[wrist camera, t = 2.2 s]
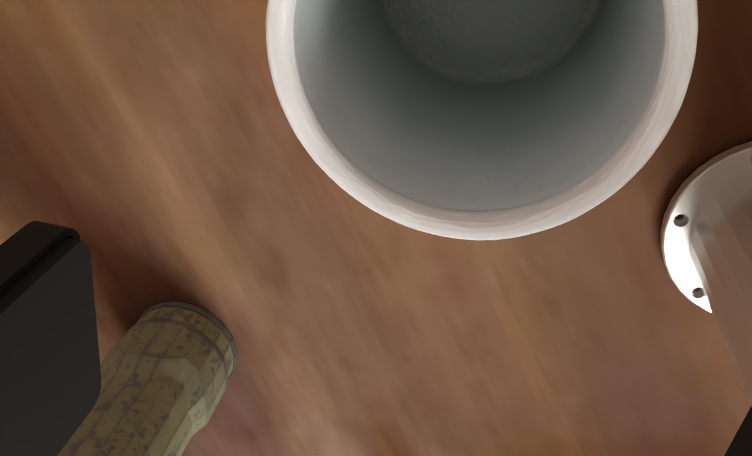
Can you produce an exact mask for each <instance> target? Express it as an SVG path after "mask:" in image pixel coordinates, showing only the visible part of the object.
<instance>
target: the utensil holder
mask: <svg viewBox="0 0 752 456" xmlns="http://www.w3.org/2000/svg"><path fill="white" fill-rule="evenodd" d="M697 35H698V8H697V0H268V4H267V14H266V45H267V54H268V61H269V67H270V72H271V76H272V80H273V83H274V87H275V90H276V93H277V96H278V99H279V101H280V104H281V107H282V108H283V110H284V113H285V115H286V117H287V119H288V121H289V123H290V125H291V127H292V129H293V131H294V132H295V134H296V135H297V137H298V139H299V140H300V142H301V143H302V145H303V146H304V148H305V149H306V150H307V152H308V153H309V154H310V156H311V157H312V158H313V159H314V161H315V162H316V163H317V164H318V165H319V166H320V167H321V169H322V170H323V171H324V172H325V173H326V174H327V175H328V176H329V177H330V178H331V179H332V180H333V181H334V182H336V183H337V184H338V185H339V186H340V187H341V188H342V189H344V190H345V191H346V192H347V193H349V194H350V195H351V196H352V197H354V198H355V199H357V200H358V201H360V202H361V203H363V204H364V205H365V206H367V207H369V208H370V209H372V210H374V211H375V212H377V213H379V214H381V215H383V216H385V217H387V218H389V219H391V220H393V221H395V222H397V223H400V224H402V225H404V226H407V227H410V228H413V229H416V230H419V231H423V232H427V233H431V234H435V235H439V236H444V237H450V238H457V239H469V240H498V239H506V238H514V237H519V236H524V235H528V234H532V233H536V232H540V231H543V230H546V229H549V228H552V227H555V226H558V225H561V224H563V223H565V222H568V221H570V220H572V219H574V218H576V217H578V216H580V215H582V214H584V213H585V212H587V211H589V210H590V209H592V208H594V207H595V206H597V205H598V204H600V203H601V202H603V201H604V200H606V199H607V198H609V197H610V196H611V195H613V194H614V193H615V192H617V191H618V190H619V189H620V188H622V187H623V186H624V185H625V184H626V183H627V182H628V181H629V180H630V179H631V178H632V177H633V176H634V175H635V174H636V173H637V172H638V171H639V170H640V169H641V168H642V167H643V166H644V165H645V163H646V162H647V161H648V160H649V159H650V157H651V156H652V155H653V153H654V152H655V151H656V149H657V148H658V147H659V145H660V144H661V142H662V141H663V139H664V138H665V136H666V134H667V133H668V131H669V129H670V127H671V125H672V124H673V122H674V120H675V118H676V116H677V114H678V112H679V110H680V107H681V105H682V102H683V100H684V97H685V94H686V91H687V88H688V84H689V81H690V78H691V74H692V70H693V66H694V60H695V55H696V46H697Z"/></svg>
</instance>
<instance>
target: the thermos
mask: <svg viewBox="0 0 752 456" xmlns="http://www.w3.org/2000/svg"><path fill="white" fill-rule="evenodd" d="M236 362H237V349H236V345H235V341H234V339H233V337H232V335H231V334H230V332H229V331H228V329H227V328H226V326H225V325H224V324H223V323H222V322H221V321H219V320H218V319H217V318H216V317H215V316H214V315H213V314H211V313H209V312H207V311H206V310H204V309H202V308H200V307H198V306H195V305H192V304H188V303H184V302H163V303H160V304H157V305H154V306H151V307H150V308H149V309H148V310H146V311H145V312H144V313H143V314H142V315H141V316H140V317H139V319H138V321H137V323H136V324H135V325H133V326H132V327H131V328H130V329H129V330H127V331H126V332H125V333H124V334H123V335H122V337H121V338H120V339H119V340H118V342H117V343H116V344H115V345H114V347H113V348H112V349H111V350H110V352H109V353H108V354H107V355H106V357H105V358H104V360H103V362H102V363H101V365H100V371H101V390H100V394H99V397H98V399H97V402H96V404H95V405H94V407H93V409H92V410H91V411H90V413H89V414H88V415H87V417H86V418H85V419H84V421H83V422H82V423H81V425H80V426H79V427H78V429H77V430H76V431H75V433H74V434H73V435H72V437H71V438H70V439H69V441H68V442H67V443H66V445H65V446H64V447H63V449H62V450H61V451H60V453H59V454H58V455H57V456H181V455H182V453H183V451H184V450H185V448H186V446H187V444H188V442H189V441H190V439H191V437H192V436H193V435H194V434H195V433H197V432H198V431H199V430H200V429H201V428H203V427H204V426H205V425H206V424H207V423H208V421H209V419H210V418H211V416H212V414H213V412H214V410H215V408H216V406H217V404H218V403H219V401H220V399H221V397H222V395H223V393H224V391H225V389H226V387H227V380H228V379H229V377H230V375H231V374H232V372H233V370H234V368H235V366H236Z"/></svg>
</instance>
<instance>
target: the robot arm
mask: <svg viewBox="0 0 752 456" xmlns="http://www.w3.org/2000/svg"><path fill="white" fill-rule="evenodd" d="M679 214H682V215H681V216H679V217H676V216H677V215H679ZM660 247H661V252H662V256H663V260H664V264H665V266H666V268H667V271H668V273H669V276H670V278H671V279H672V281H673V282H674V284H675V285H676V287H677V288H678V289H679V291H680V292H681V293H682V294H683V295H684V296H685V297H686V298H687V299H688V300H690V301H691V302H692V303H694V304H696V305H697V306H699V307H701V308H702V309H704V310H706V311H708V312H710V313H712V314H713V316H714V319H715V321H716V323H717V326H718V328H719V331H720V333H721V336H722V338H723V341H724V343H725V346H726V348H727V351H728V353H729V356H730V358H731V360H732V363H733V365H734V368H735V370H736V373H737V375H738V378H739V380H740V383H741V385H742V388H743V390H744V393H745V395H746V397H747V400H748V402H749V405H750V407H751V408H750V410H749V411H748V413H747V415H746V417H745V419H744V421H743V422H742V424H741V426H740V428H739V430H738V432H737V433H736V435H735V437H734V439H733V441H732V443H731V444H730V446H729V448H728V450H727V452H726V454H725V455H724V456H752V141H750V142H747V143H744V144H741V145H737V146H735V147H733V148H730V149H728V150H726V151H724V152H722V153H720V154H718V155H716V156H714V157H713V158H712V159H710V160H709V161H707V162H706V163H704V164H703V165H702V166H700V167H699V168H697V169H696V170H695V171H694V172H693V173H692V174H691V175H690V176H689V177H688V178H687V179H686V180H685V181H684V182H683V183H682V184H681V186H680V187H679V189H678V190H677V191H676V193H675V194H674V196H673V197H672V198H671V200H670V203H669V205H668V207H667V209H666V212H665V214H664V217H663V221H662V226H661V231H660ZM100 390H101V371H100V359H99V348H98V336H97V325H96V313H95V302H94V290H93V279H92V267H91V256H90V249H89V246H88V244H87V243H86V242H84V241H81V240H80V236H79V234H78V232H77V231H76V230H74V229H72V228H67V227H62V226H58V225H53V224H48V223H44V222H39V221H32V222H30V223H29V224H27V225H25V226H24V227H23V228H22V229H20V230H19V231H18V232H17V233H15V234H14V235H13V236H11V237H10V238H9V239H8V240H6V241H5V242H4V243H3V244H1V245H0V456H57V455H58V454H59V453H60V451H61V450H62V449H63V447H64V446H65V445H66V443H67V442H68V441H69V439H70V438H71V437H72V435H73V434H74V433H75V431H76V430H77V429H78V427H79V426H80V425H81V423H82V422H83V421H84V419H85V418H86V417H87V415H88V414H89V413H90V411H91V410H92V409H93V407H94V405H95V404H96V402H97V399H98V397H99V394H100Z"/></svg>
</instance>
